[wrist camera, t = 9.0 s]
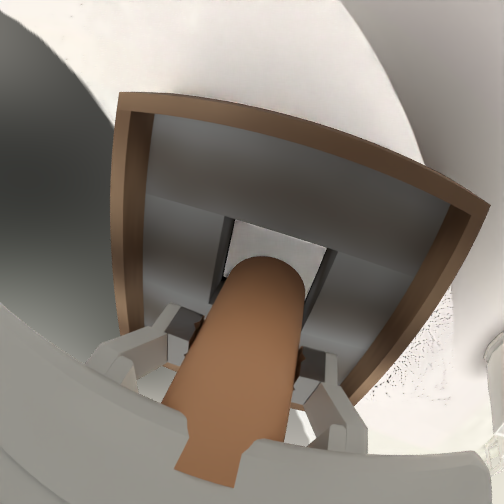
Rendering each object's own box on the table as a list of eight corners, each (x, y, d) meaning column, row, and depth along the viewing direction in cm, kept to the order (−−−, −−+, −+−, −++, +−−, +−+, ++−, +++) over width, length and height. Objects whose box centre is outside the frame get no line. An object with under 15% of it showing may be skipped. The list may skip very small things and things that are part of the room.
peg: (235, 245, 13) (119, 443, 5) (316, 271, 13) (291, 498, 4) (221, 307, 15) (140, 475, 7) (291, 329, 15) (252, 511, 6)
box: (173, 93, 14) (119, 92, 9) (445, 176, 12) (490, 205, 8) (153, 305, 22) (122, 347, 17) (342, 365, 20) (341, 418, 16)
